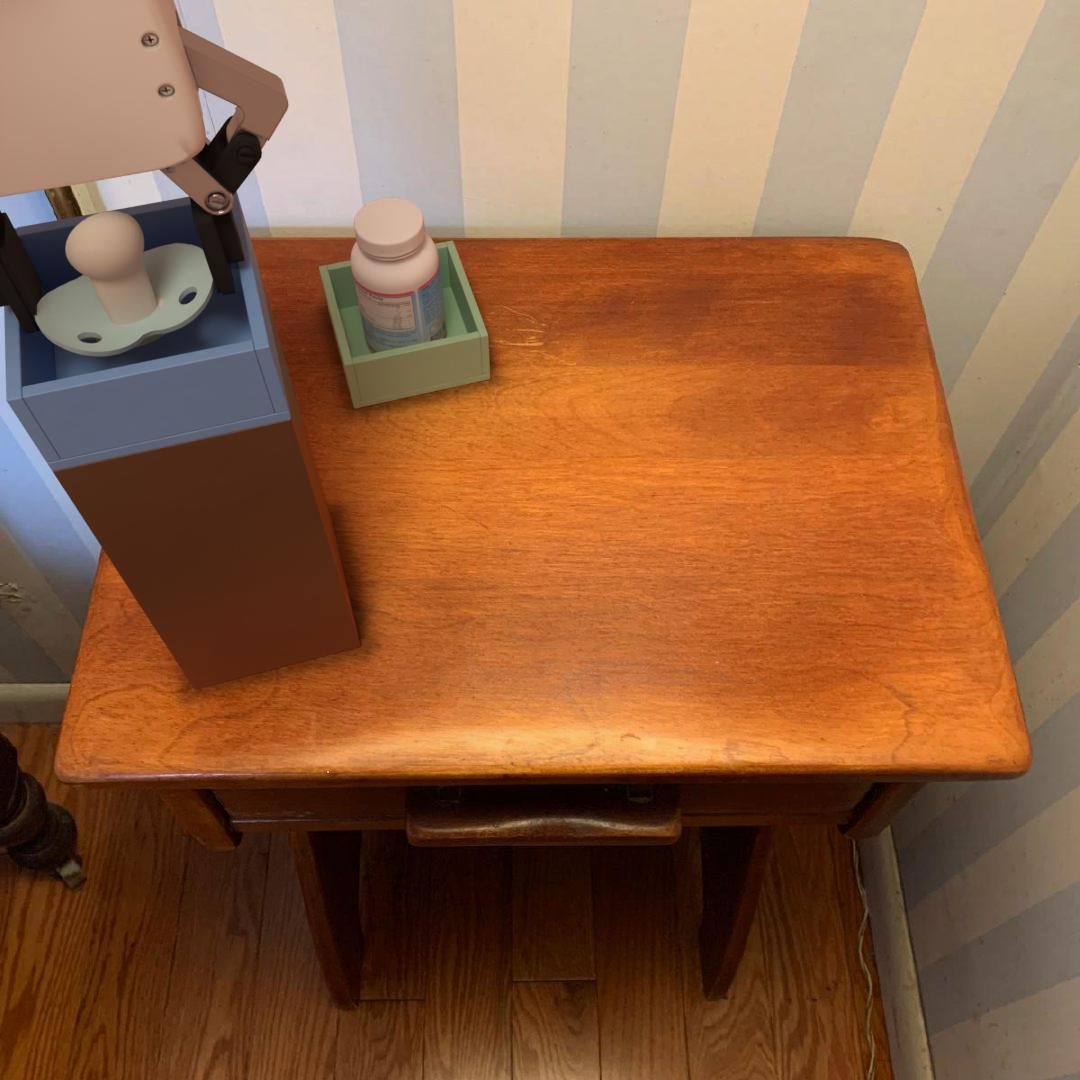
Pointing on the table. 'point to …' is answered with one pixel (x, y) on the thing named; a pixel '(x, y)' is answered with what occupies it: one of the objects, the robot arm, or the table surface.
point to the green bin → (415, 364)
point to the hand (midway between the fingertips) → (129, 288)
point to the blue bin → (191, 466)
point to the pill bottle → (396, 276)
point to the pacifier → (122, 288)
